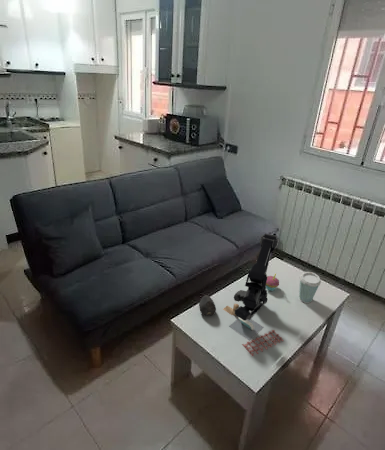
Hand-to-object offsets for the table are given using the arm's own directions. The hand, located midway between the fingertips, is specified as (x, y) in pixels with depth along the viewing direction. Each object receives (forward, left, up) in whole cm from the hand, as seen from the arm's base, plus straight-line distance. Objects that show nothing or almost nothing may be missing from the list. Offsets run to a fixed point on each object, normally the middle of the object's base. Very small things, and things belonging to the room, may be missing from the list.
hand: (248, 319), depth 146 cm
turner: (-2, -12, -5) cm, 13 cm away
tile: (0, 0, -4) cm, 4 cm away
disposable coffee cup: (-40, +10, -5) cm, 41 cm away
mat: (+1, 0, -5) cm, 5 cm away
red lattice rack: (+4, +11, -5) cm, 12 cm away
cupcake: (-34, -8, -5) cm, 35 cm away
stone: (+7, -20, -5) cm, 22 cm away
